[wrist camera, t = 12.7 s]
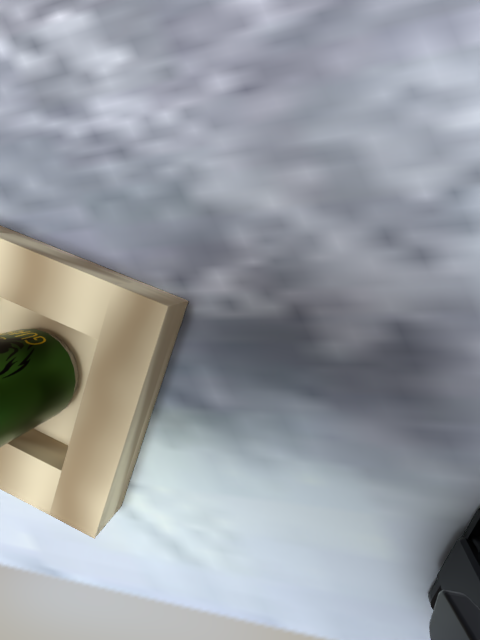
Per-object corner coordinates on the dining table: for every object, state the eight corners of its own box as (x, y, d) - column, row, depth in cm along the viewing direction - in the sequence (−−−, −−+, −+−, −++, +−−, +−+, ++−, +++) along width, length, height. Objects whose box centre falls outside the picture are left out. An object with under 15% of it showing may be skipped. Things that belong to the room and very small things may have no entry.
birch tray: (192, 299, 21) (168, 306, 18) (126, 500, 24) (94, 538, 21) (-9, 219, 23) (-65, 212, 20) (-47, 413, 26) (-102, 435, 23)
